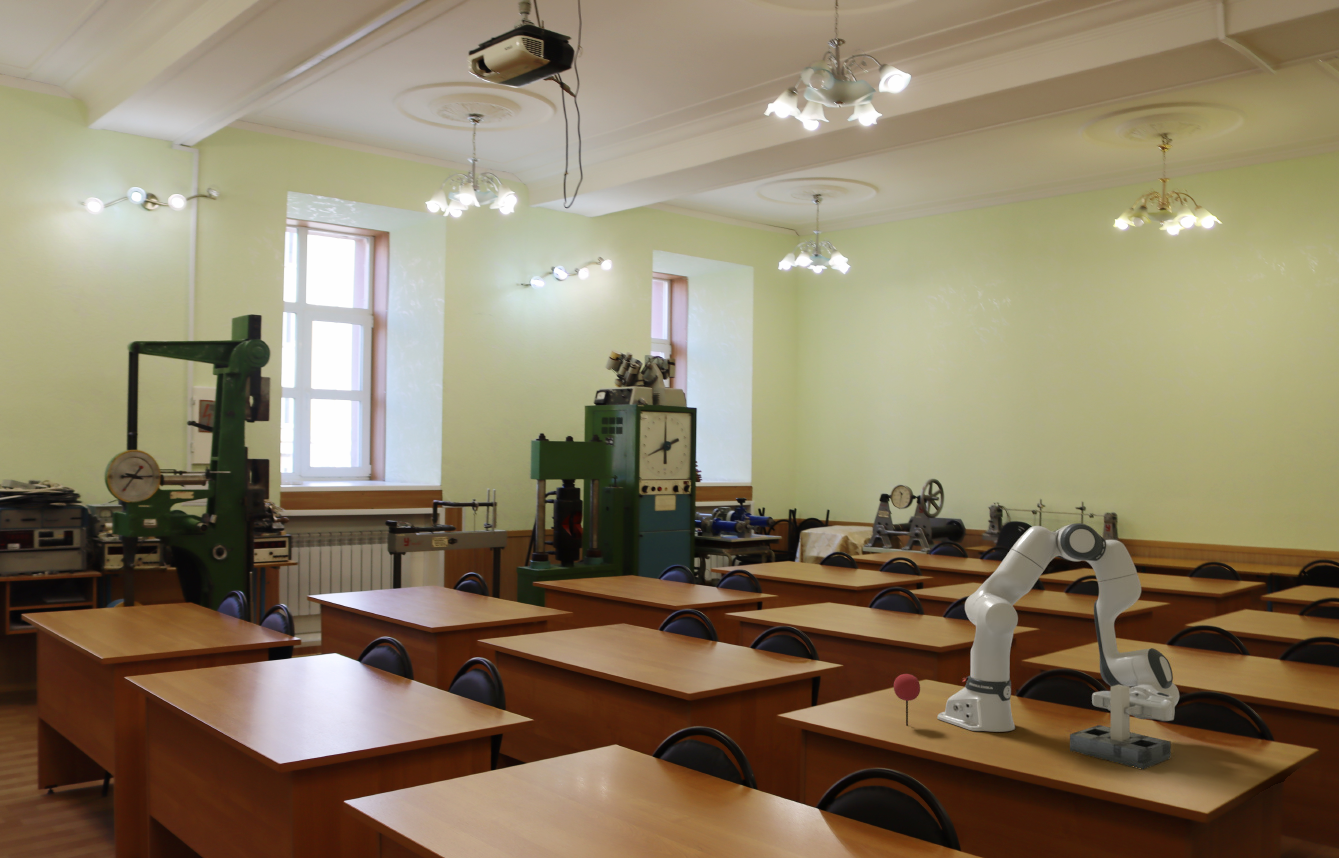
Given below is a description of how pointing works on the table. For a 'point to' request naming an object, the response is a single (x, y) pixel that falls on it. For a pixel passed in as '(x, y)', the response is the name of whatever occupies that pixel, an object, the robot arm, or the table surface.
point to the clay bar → (1120, 713)
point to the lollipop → (906, 689)
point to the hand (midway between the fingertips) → (1118, 709)
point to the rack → (1120, 747)
